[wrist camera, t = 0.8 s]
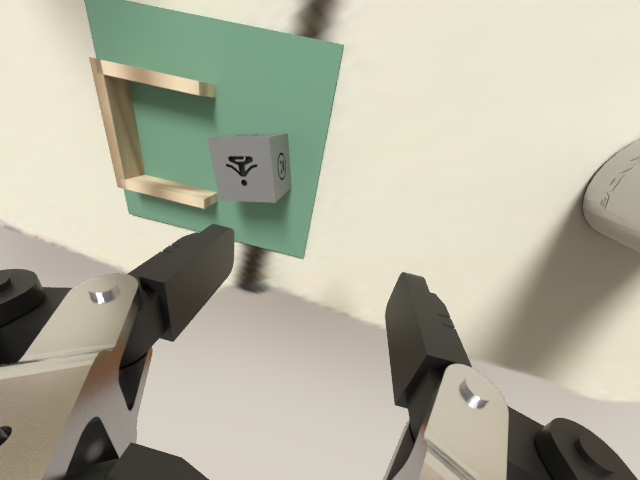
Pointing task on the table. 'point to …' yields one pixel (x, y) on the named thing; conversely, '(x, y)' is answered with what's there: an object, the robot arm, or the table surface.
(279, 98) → the green mat
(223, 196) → the dice cube
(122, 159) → the wooden u-shaped frame
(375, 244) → the table surface
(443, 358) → the robot arm
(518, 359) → the table surface
